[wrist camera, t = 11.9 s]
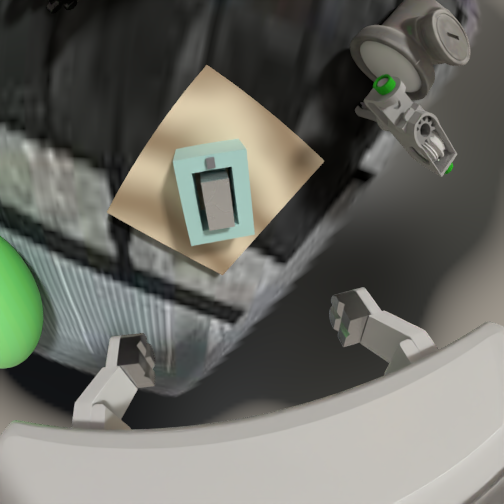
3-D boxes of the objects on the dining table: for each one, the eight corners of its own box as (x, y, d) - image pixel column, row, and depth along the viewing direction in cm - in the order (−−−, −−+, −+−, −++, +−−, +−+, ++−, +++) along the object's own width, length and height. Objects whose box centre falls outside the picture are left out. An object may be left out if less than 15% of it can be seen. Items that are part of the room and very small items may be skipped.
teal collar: (246, 213, 27) (255, 236, 24) (191, 223, 27) (191, 248, 23) (238, 138, 23) (247, 149, 19) (176, 149, 22) (172, 162, 19)
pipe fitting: (385, 104, 24) (459, 109, 15) (332, 48, 20) (400, 24, 11) (429, 45, 21) (495, 41, 12) (386, -5, 18) (448, -28, 8)
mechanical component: (334, 66, 21) (400, 68, 13) (396, 130, 26) (461, 159, 18) (317, 87, 22) (378, 97, 14) (382, 148, 27) (444, 183, 19)
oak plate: (221, 266, 32) (222, 275, 31) (110, 205, 25) (106, 212, 24) (318, 156, 27) (324, 161, 25) (206, 66, 20) (206, 65, 19)
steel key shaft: (227, 200, 26) (235, 226, 22) (206, 204, 26) (209, 230, 22) (222, 159, 24) (228, 178, 20) (199, 163, 23) (200, 183, 19)
